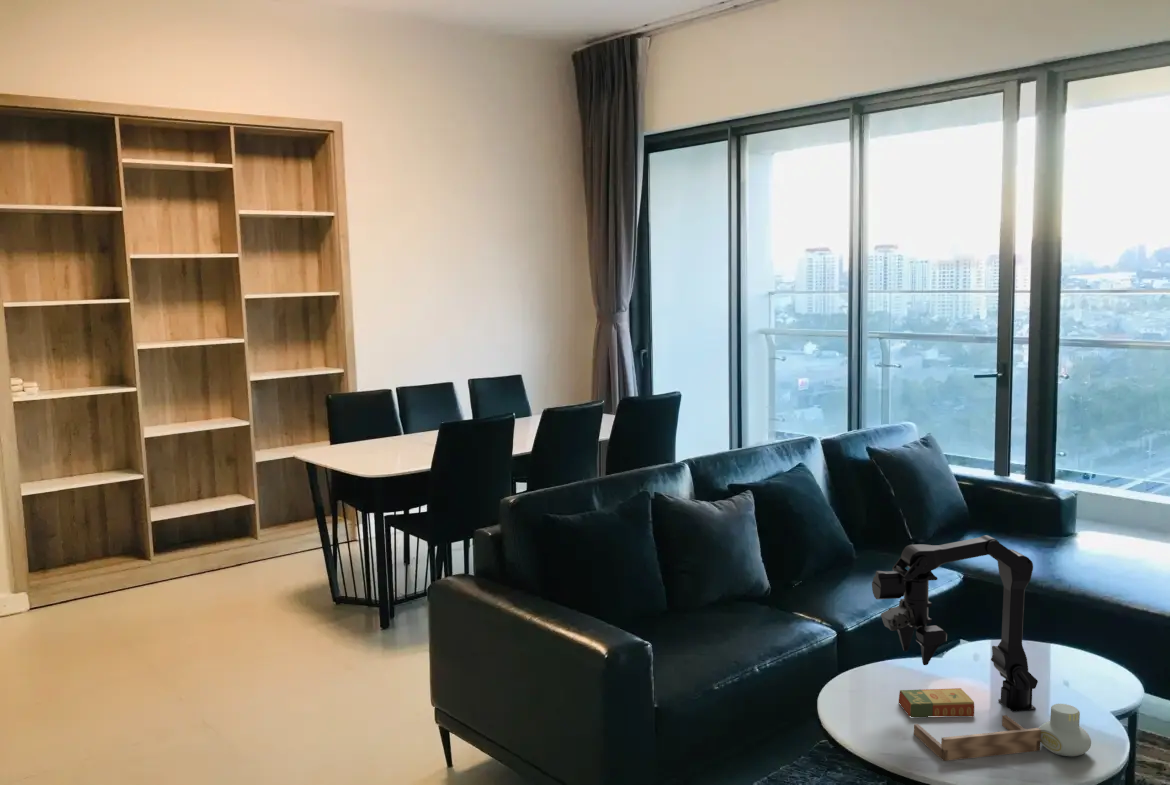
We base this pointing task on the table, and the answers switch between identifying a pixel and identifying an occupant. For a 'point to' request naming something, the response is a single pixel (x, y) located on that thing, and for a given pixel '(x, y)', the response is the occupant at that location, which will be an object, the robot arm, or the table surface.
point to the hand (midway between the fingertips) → (915, 657)
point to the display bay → (983, 742)
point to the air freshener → (1065, 732)
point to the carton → (936, 702)
